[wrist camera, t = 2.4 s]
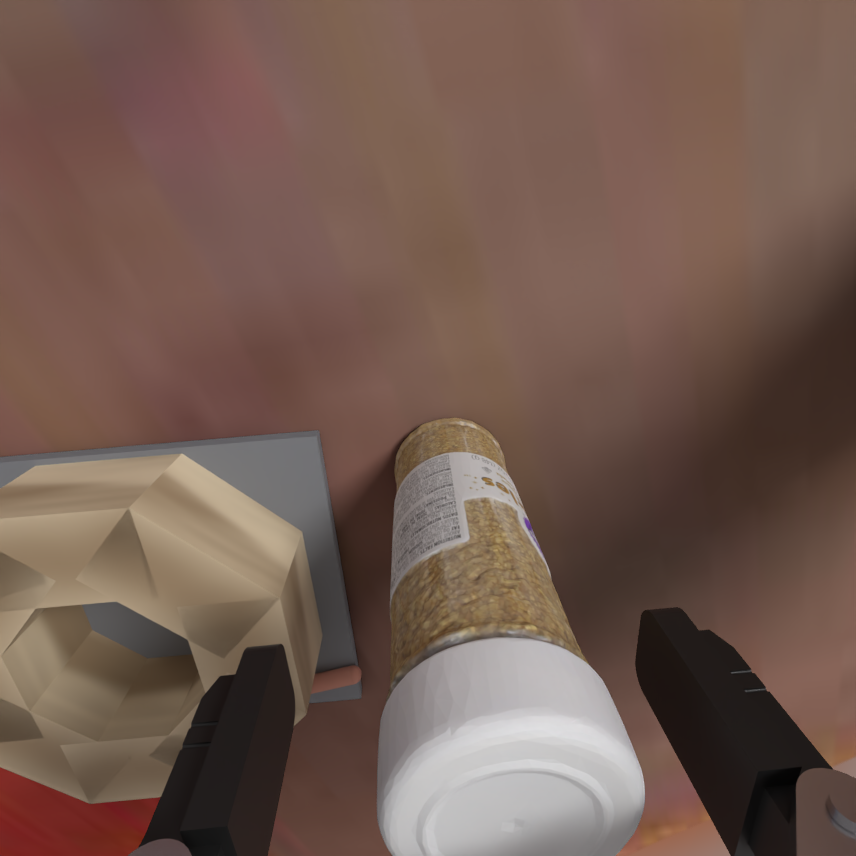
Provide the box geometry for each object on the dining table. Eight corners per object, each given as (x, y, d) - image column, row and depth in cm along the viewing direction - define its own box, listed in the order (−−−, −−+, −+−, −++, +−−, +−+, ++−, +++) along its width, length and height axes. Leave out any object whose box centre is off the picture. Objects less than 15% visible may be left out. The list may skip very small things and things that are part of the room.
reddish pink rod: (359, 659, 23) (358, 673, 23) (364, 672, 24) (363, 686, 23) (105, 717, 24) (95, 733, 23) (113, 728, 24) (104, 744, 24)
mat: (318, 430, 20) (316, 436, 19) (362, 688, 25) (361, 698, 24) (-91, 464, 19) (-105, 471, 19) (40, 717, 25) (31, 728, 24)
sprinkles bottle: (523, 473, 21) (702, 840, 8) (436, 531, 22) (479, 941, 9) (460, 390, 19) (564, 686, 7) (369, 455, 20) (313, 824, 8)
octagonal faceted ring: (285, 444, 19) (256, 496, 15) (334, 697, 24) (322, 781, 21) (-70, 474, 19) (-184, 534, 15) (55, 722, 24) (-8, 813, 20)
